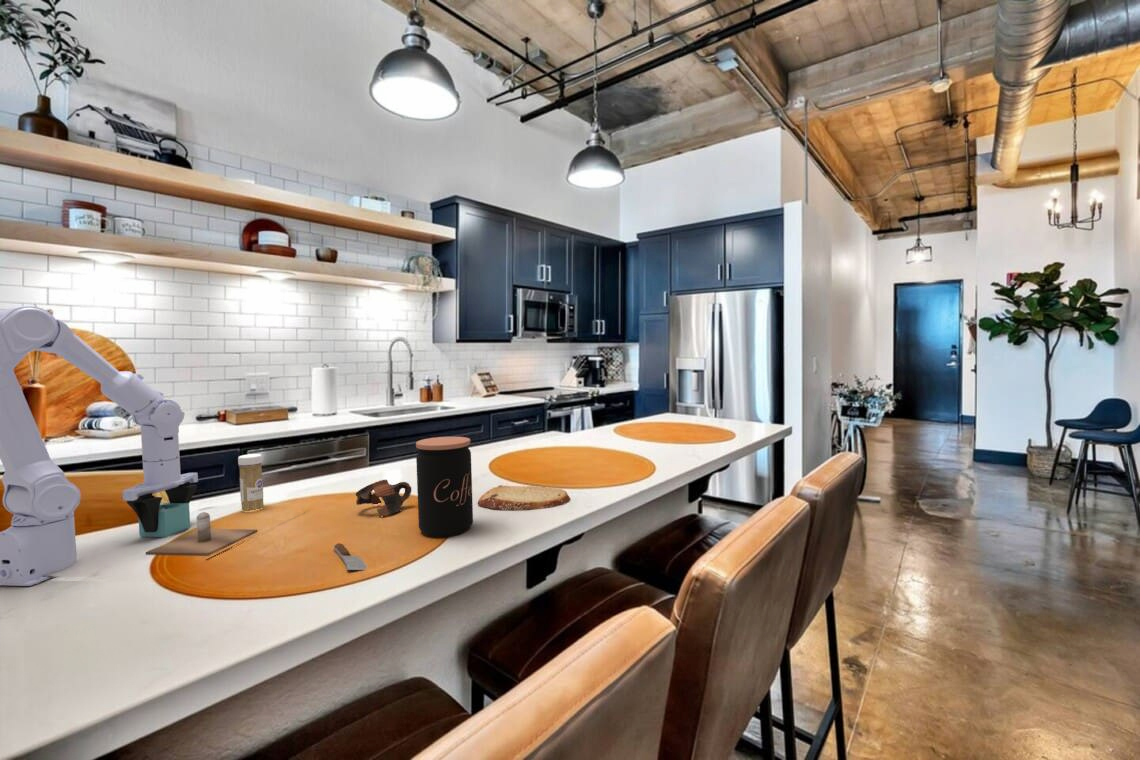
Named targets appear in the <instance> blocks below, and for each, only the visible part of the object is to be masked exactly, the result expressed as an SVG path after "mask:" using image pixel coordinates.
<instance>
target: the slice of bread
mask: <svg viewBox="0 0 1140 760" xmlns="http://www.w3.org/2000/svg"><path fill="white" fill-rule="evenodd" d="M570 501H571V497H570V496H569V493H568V492H567V491H566V490H564V489H562V488H556V487H550V486H549V487H548V486H547V487H546V486H531V485H527V486H525V485H522V486H521V485H520V486H519V485H515V486H514V485H503V484H501V485H497V487H493V488H490V489H489V490H487V491H486V492H485V493H483V494H482V495H481V496H480V497H479V499H478V501H477V506H478V507H480V508H486V509H489V510H495V511H508V512H509V511H514V512H515V511H516V512H518V511H521V512H522V511H531V510H543V509H551V508H554V507H559V506H563V505H566V504H567V503H569V502H570Z"/></svg>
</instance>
